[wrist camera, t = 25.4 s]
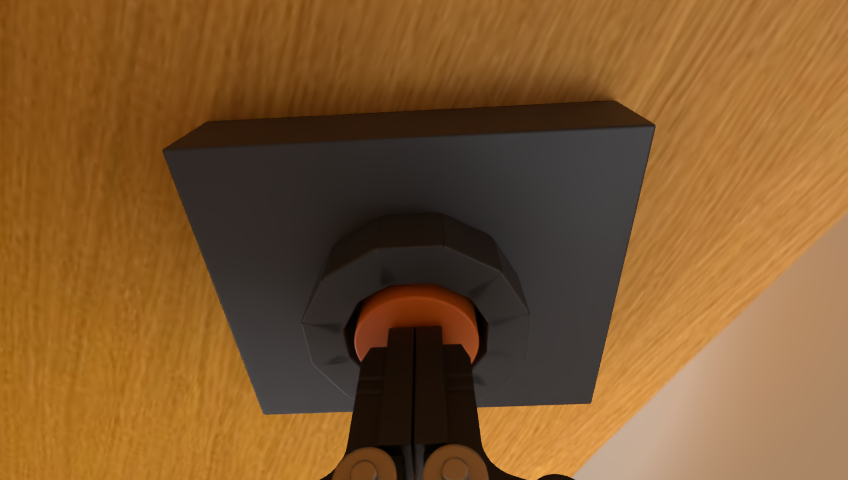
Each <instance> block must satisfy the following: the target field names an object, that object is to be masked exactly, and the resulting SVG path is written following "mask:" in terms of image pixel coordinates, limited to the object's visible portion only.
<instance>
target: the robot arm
mask: <svg viewBox="0 0 848 480" xmlns="http://www.w3.org/2000/svg"><path fill="white" fill-rule="evenodd" d="M320 480H525V479H522V478H519V477H516V476H512V475H510V474H507V473H505V472H503V471H502V470H500V469H499V468H497V467H496V466H495V465H494V464H493V463H492V462H491V461H490V460H489V458H488V457H487V456H486V454H485V452H484V450H483V447H482V443H481V436H480V428H479V420H478V413H477V405H476V397H475V391H474V381H473V373H472V365H471V358H470V356H469V355H468V353H467V352H466V350H465V349H464V347H463V346H462V344H443V341H442V326H421V327H417V328H416V335H415V327H399V328H389V332H388V341H387V347H371V348H370V350H369V351H368V352H367V354H366V355H365V357H364V358H363V360H362V361H361V366H360V372H359V381H358V384H357V390H356V396H355V402H354V408H353V414H352V420H351V426H350V432H349V438H348V445H347V449H346V452H345V455H344V457H343V459H342V460H341V461H340V462H339V464H338V465H337V467H336V468H335V469H334V470H333V471H332V472H331V473H330V474H328V475H327V476H325V477H324V478H322V479H320ZM538 480H574V479H573V478H570V477H568V476H564V475H559V474H550V475H546V476H543V477H541V478H539V479H538Z"/></svg>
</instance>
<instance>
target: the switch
mask: <svg viewBox="0 0 848 480" xmlns="http://www.w3.org/2000/svg"><path fill="white" fill-rule="evenodd" d="M421 326H442V341H443V344H462V346H463V347H464V349H465V350H466V352H467V353H468V355H469V356H470V358H471V364H472V362H473V361H474V359H475V357H476V354H477V351H478V348H479V335H478V328H477V322H476V315H475V309H474V304H473V302H472V301H471V300H470V298H468V297H466V296H463V295H461V294H458V293H456V292H453V291H451V290H449V289H446V288H444V287H441V286H439V285H436V284H434V283H426V284H402V285H389V286H388V287H386V288H384V289H382V290H380V291H378V292H376V293H374V294H373V295H371V296H369V297H367V298H365V299H363V300H361V305H360V310H359V315H358V321H357V326H356V331H355V337H354V344H355V349H356V353H357V355H358V357H359V360H360V361H362V360H363V358H364V357H365V355H366V354H367V352H368V351H369V350H370V348H371V347H387V341H388V332H389V328H399V327H415V335H416V328H417V327H421Z"/></svg>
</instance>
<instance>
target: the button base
mask: <svg viewBox="0 0 848 480" xmlns="http://www.w3.org/2000/svg"><path fill="white" fill-rule="evenodd" d="M654 132H655V124H653V123H652V122H650V121H648V120H647V119H645V118H643V117H642V116H640V115H638V114H637V113H635V112H633V111H632V110H630V109H628V108H627V107H625V106H623V105H622V104H620V103H618V102H617V101H599V102H580V103H561V104H541V105H522V106H503V107H484V108H464V109H445V110H426V111H407V112H387V113H368V114H349V115H330V116H310V117H291V118H272V119H253V120H233V121H214V122H206V123H204V124H202V125H201V126H199V127H198V128H196V129H194V130H193V131H191V132H190V133H188V134H186V135H185V136H183V137H182V138H180V139H179V140H177V141H175V142H174V143H172V144H171V145H169V146H167V147H166V148H164V149H163V154H164V157H165V160H166V162H167V165H168V167H169V170H170V173H171V175H172V178H173V180H174V183H175V186H176V188H177V191H178V193H179V196H180V198H181V201H182V204H183V206H184V209H185V211H186V214H187V217H188V219H189V222H190V224H191V227H192V230H193V232H194V235H195V237H196V240H197V243H198V245H199V248H200V250H201V253H202V256H203V258H204V261H205V263H206V266H207V269H208V271H209V274H210V276H211V279H212V282H213V284H214V287H215V289H216V292H217V295H218V297H219V300H220V302H221V305H222V308H223V310H224V313H225V315H226V318H227V321H228V323H229V326H230V328H231V331H232V334H233V336H234V339H235V341H236V344H237V347H238V349H239V352H240V354H241V357H242V360H243V362H244V365H245V367H246V370H247V373H248V375H249V378H250V380H251V383H252V386H253V388H254V391H255V393H256V396H257V399H258V401H259V404H260V406H261V409H262V412H263V414H265V415H269V414H299V413H328V412H353V408H354V402H355V396H356V390H357V384H358V381H359V372H360V366H361V361H360V360H359V357H358V355H357V353H356V349H355V344H354V337H355V331H356V326H357V321H358V315H359V310H360V305H361V300H363V299H365V298H367V297H369V296H371V295H373V294H374V293H376V292H378V291H380V290H382V289H384V288H386V287H388V286H389V285H402V284H426V283H434V284H436V285H439V286H441V287H444V288H446V289H449V290H451V291H453V292H456V293H458V294H461V295H463V296H466V297H468V298H470V300H471V301H472V302H473V304H474V309H475V315H476V322H477V328H478V335H479V348H478V351H477V354H476V357H475V359H474V361H473V362H472V364H471V365H472V373H473V381H474V391H475V397H476V405H477V407H505V406H535V405H564V404H590V403H591V401H592V397H593V393H594V388H595V384H596V380H597V375H598V371H599V367H600V363H601V358H602V354H603V350H604V345H605V341H606V337H607V333H608V328H609V324H610V320H611V316H612V311H613V307H614V303H615V298H616V294H617V290H618V286H619V281H620V277H621V273H622V268H623V264H624V260H625V256H626V251H627V247H628V243H629V239H630V234H631V230H632V226H633V221H634V217H635V213H636V209H637V204H638V200H639V196H640V191H641V187H642V183H643V179H644V174H645V170H646V166H647V162H648V157H649V153H650V149H651V144H652V140H653V136H654Z"/></svg>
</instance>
